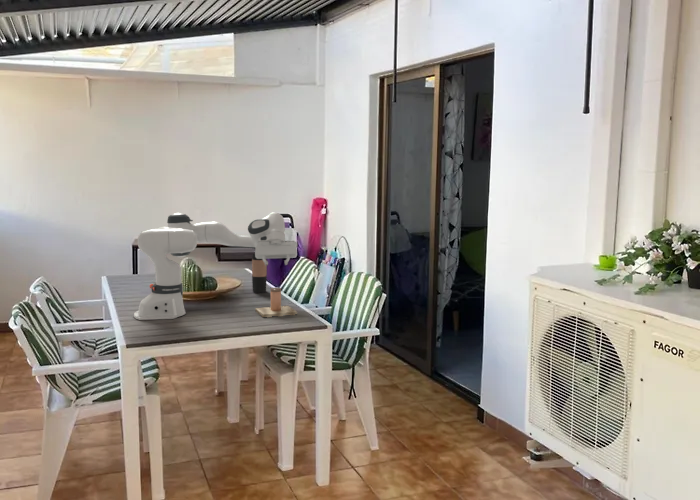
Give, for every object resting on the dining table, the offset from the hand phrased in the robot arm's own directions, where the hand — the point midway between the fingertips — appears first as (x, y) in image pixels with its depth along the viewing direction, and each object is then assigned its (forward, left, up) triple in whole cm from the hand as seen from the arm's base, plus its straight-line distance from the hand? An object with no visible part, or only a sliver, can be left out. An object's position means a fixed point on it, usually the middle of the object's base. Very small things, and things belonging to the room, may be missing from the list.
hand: (276, 264), depth 312 cm
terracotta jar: (-4, -13, -19) cm, 23 cm away
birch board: (-4, -13, -21) cm, 25 cm away
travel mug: (+2, +36, -21) cm, 42 cm away
